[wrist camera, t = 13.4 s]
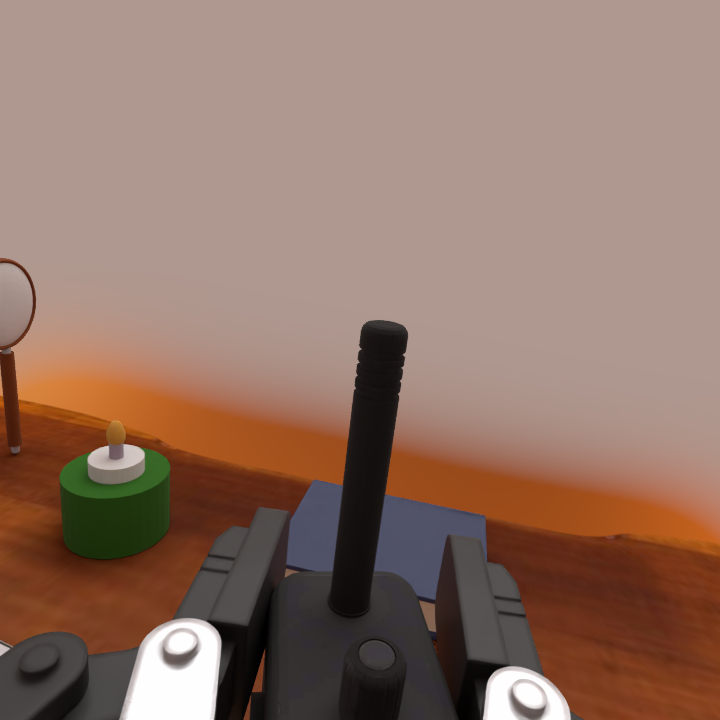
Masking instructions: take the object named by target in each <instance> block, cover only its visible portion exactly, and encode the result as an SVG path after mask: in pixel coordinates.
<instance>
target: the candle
mask: <svg viewBox="0 0 720 720" xmlns="http://www.w3.org/2000/svg"><path fill="white" fill-rule="evenodd" d="M106 437H107V440H108V442H109V446H105V447H102V448H99V449H97V450H95V451H93V452H90V453H87V454H85V455H82V456H80V457H78V458H76V459H74V460H73V461H71V462H70V463H69V464H67V465H66V466H65V467H64V468H63V470H62V471H61V474H60V492H61V508H62V524H63V538H64V542H65V544H66V546H67V547H68V548H69V549H70V550H71V551H72V552H74V553H76V554H78V555H80V556H84V557H87V558H94V559H114V558H122V557H126V556H130V555H133V554H136V553H139V552H142V551H144V550H146V549H148V548H150V547H151V546H153V545H154V544H156V543H157V542H159V541H160V540H161V539H162V538H163V537H164V535H165V534H166V532H167V531H168V528H169V525H170V464H169V462H168V460H167V459H166V458H165V457H164V456H163V455H161V454H159V453H157V452H155V451H152V450H149V449H144V448H139V447H136V446H132V445H124V440H125V437H126V433H125V429H124V427H123V425H122V423H120V422H119V421H117V420H115V421H112V422H111V423H110V425H109V426H108V428H107V432H106Z"/></svg>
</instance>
